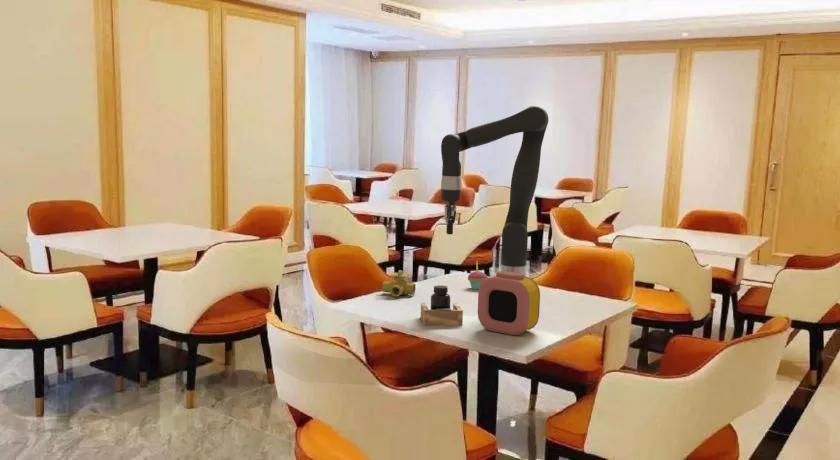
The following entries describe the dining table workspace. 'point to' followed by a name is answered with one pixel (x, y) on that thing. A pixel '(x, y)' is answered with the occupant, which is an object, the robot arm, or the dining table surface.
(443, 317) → the frame
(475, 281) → the cupcake
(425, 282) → the dining table surface
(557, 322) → the dining table surface
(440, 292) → the supplement bottle
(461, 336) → the dining table surface
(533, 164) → the robot arm
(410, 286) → the ball valve
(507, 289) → the alarm clock
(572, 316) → the dining table surface
